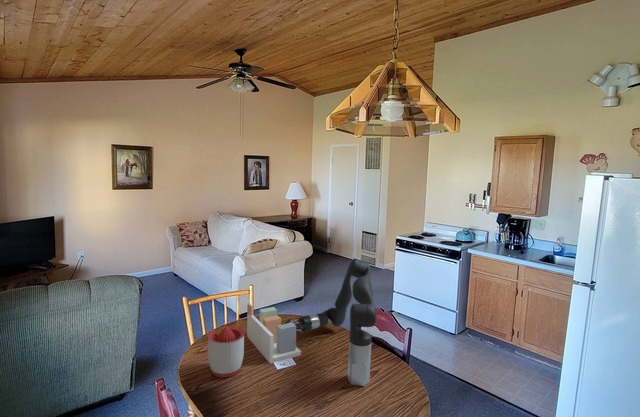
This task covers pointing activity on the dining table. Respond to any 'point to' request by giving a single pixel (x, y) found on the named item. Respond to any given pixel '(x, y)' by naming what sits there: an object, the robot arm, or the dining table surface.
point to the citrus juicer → (226, 351)
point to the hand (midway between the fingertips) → (279, 328)
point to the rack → (265, 339)
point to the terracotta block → (272, 325)
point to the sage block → (267, 313)
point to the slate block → (286, 338)
